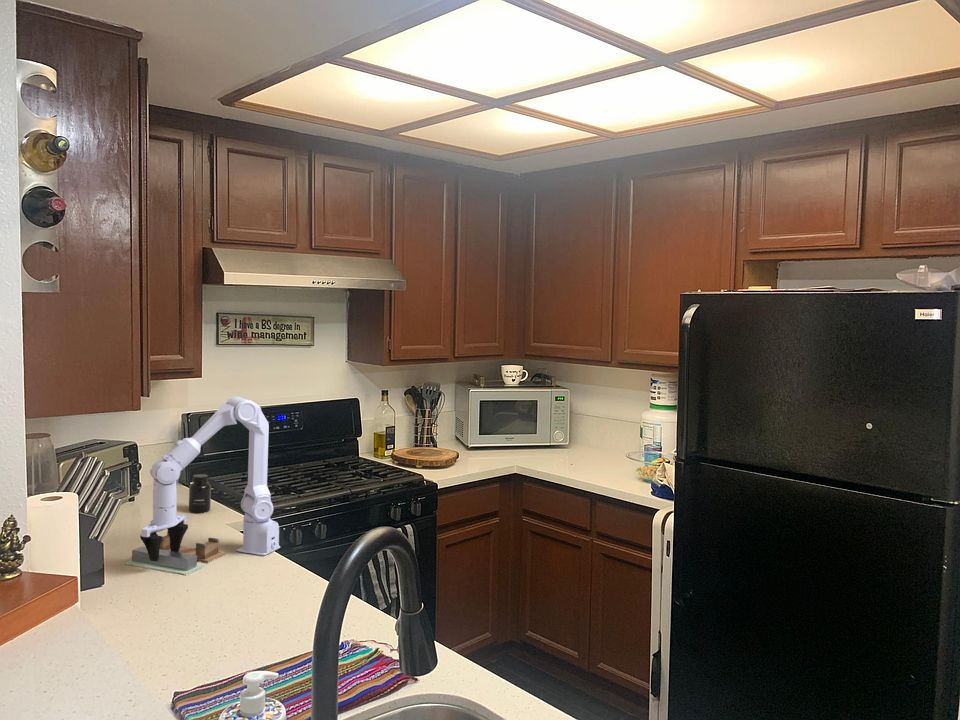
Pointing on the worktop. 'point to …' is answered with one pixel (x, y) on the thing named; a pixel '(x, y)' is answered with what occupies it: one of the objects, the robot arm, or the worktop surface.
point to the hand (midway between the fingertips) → (164, 556)
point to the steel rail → (166, 559)
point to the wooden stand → (197, 549)
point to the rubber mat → (162, 567)
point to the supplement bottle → (199, 494)
